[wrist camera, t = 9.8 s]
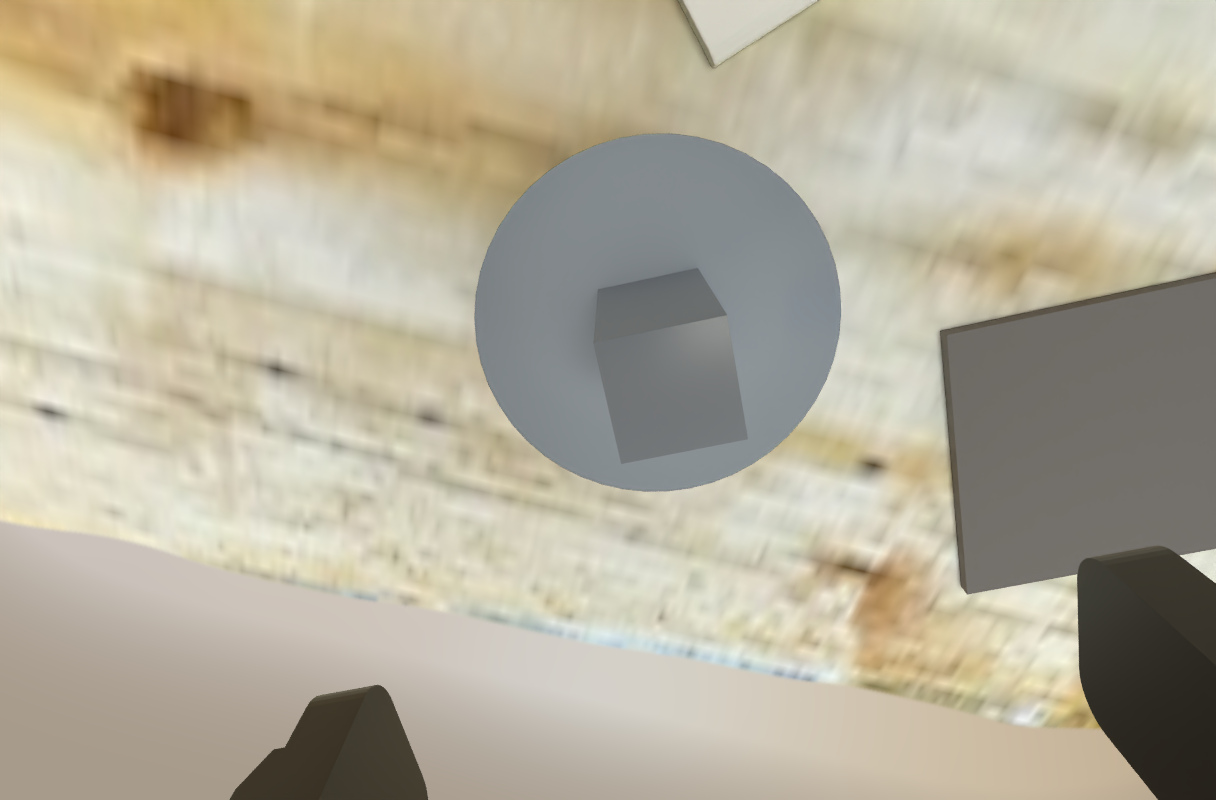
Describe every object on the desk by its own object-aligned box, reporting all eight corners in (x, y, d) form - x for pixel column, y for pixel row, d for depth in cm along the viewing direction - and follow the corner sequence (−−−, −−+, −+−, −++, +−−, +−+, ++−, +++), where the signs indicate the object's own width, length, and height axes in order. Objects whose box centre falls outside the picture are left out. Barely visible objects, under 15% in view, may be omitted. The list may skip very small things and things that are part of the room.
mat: (1258, 263, 29) (1271, 266, 28) (1241, 534, 33) (1252, 541, 32) (940, 331, 30) (947, 334, 29) (961, 586, 34) (967, 594, 33)
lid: (809, 94, 21) (895, 78, 15) (851, 445, 25) (934, 555, 18) (435, 180, 22) (363, 200, 16) (528, 508, 26) (500, 633, 19)
